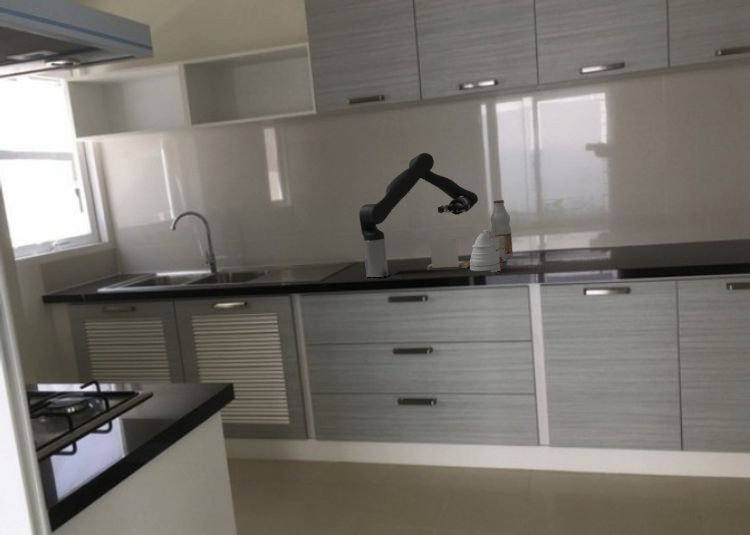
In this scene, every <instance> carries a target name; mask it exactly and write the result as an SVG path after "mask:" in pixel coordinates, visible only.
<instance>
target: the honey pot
mask: <svg viewBox="0 0 750 535" xmlns="http://www.w3.org/2000/svg"><path fill="white" fill-rule="evenodd" d="M490 230H491V229H484V230H483V233H480V234H479V235H478V236H477V238H476V239H475V242H474V244H473V245H472V246H471V247H472V251H471V255H470V258H469V259H470V260H469V261H470V266H469V270H470V271H473V272H484V271H485V272H486V271H487V272H488V271H489V272H497V271H500V272H501V263H500V262H501V260H500V259H499V257H498V255H497V253H496V250H495V248H494V246H495V245H496V244H495V243H492V242H491V240H490V239H489V232H491V231H490ZM497 273H498V272H497Z"/></svg>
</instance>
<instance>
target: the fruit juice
mask: <svg viewBox="0 0 750 535" xmlns="http://www.w3.org/2000/svg"><path fill="white" fill-rule="evenodd" d="M493 205H494V208H493V211H492V214H491V216H490V224H491V229H490V230H491V231H495V237H500V236H505V254H506V260H509V259H512V258H513V257H514V253H513V240H512V228H511V225H510V222H511V221H510V220H511V218H510V215H509V213H508V212H507V209H506V207H505V200H503V199H500V200H498V199H497V200H494V201H493ZM491 231H490V232H491ZM491 235H493V233H492V234H491Z"/></svg>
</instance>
